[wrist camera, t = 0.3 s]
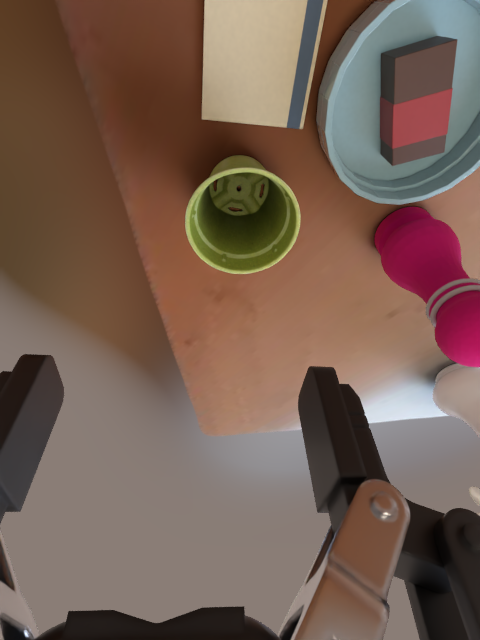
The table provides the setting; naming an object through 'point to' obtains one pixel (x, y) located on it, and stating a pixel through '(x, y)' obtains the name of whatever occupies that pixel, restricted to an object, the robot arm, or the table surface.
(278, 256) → the plant pot
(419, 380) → the table surface
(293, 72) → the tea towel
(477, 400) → the flower vase
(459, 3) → the pan
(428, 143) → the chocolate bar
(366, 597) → the robot arm
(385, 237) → the pepper mill
